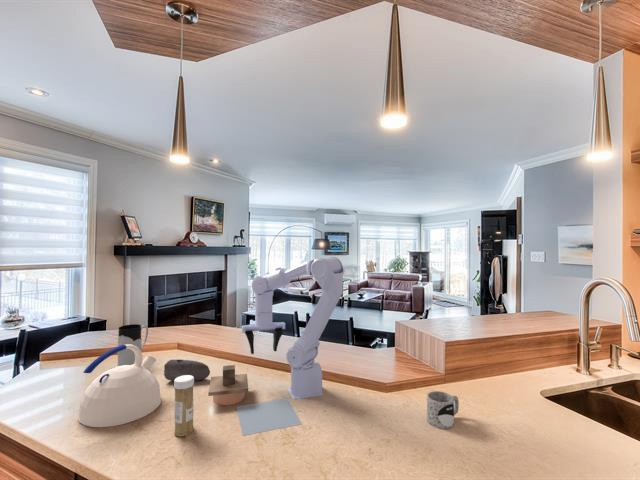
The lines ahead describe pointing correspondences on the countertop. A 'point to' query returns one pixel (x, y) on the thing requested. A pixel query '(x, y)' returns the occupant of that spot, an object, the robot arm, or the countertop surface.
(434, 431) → the countertop surface
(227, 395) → the terracotta bowl
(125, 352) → the gray black pitcher
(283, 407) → the rubber mat
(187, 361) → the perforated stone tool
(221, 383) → the cover board
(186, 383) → the sprinkles bottle
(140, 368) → the kettle
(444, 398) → the mug
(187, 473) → the countertop surface
